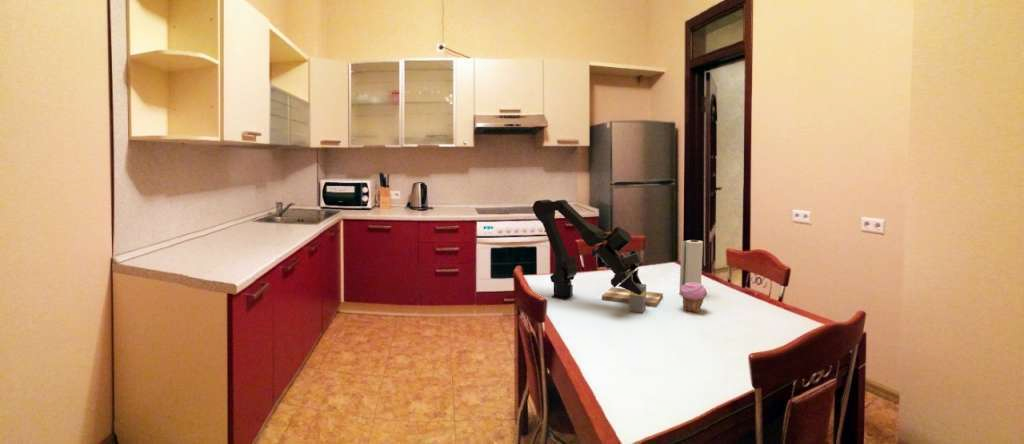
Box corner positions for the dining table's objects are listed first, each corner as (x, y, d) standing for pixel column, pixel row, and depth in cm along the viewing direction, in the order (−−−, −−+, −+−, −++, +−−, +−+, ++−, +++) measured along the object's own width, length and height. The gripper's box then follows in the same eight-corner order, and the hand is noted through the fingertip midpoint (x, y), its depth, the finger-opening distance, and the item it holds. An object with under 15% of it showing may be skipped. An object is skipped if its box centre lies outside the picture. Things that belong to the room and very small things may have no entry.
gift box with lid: (629, 311, 159) (630, 286, 158) (632, 307, 164) (633, 282, 162) (642, 313, 157) (643, 287, 156) (645, 309, 161) (646, 284, 160)
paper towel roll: (702, 294, 179) (704, 240, 176) (698, 298, 174) (701, 242, 171) (682, 291, 183) (684, 238, 180) (679, 295, 178) (681, 241, 175)
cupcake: (674, 310, 160) (676, 282, 159) (685, 304, 166) (686, 277, 165) (700, 316, 154) (701, 287, 153) (710, 309, 160) (711, 282, 159)
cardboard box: (601, 299, 173) (601, 295, 173) (611, 290, 184) (611, 287, 184) (655, 307, 164) (656, 303, 163) (662, 297, 175) (662, 293, 175)
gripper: (620, 248, 151) (654, 285, 147) (634, 239, 167) (664, 272, 163) (597, 269, 156) (629, 305, 152) (612, 258, 172) (641, 290, 168)
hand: (642, 292), depth 159 cm, fingers closed on gift box with lid, 5 cm apart
